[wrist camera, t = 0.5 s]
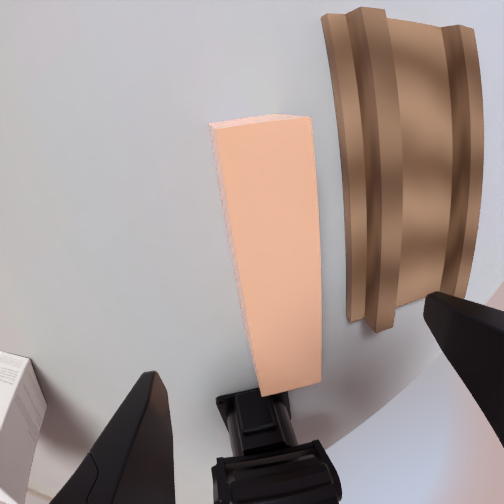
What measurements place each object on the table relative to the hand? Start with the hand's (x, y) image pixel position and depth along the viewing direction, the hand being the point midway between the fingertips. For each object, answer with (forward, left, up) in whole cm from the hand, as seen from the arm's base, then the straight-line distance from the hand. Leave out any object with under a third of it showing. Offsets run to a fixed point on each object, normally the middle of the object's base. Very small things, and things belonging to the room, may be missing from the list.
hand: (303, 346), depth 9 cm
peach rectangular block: (-2, -1, -12) cm, 12 cm away
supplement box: (-10, +25, -12) cm, 30 cm away
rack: (+1, -13, -12) cm, 18 cm away
